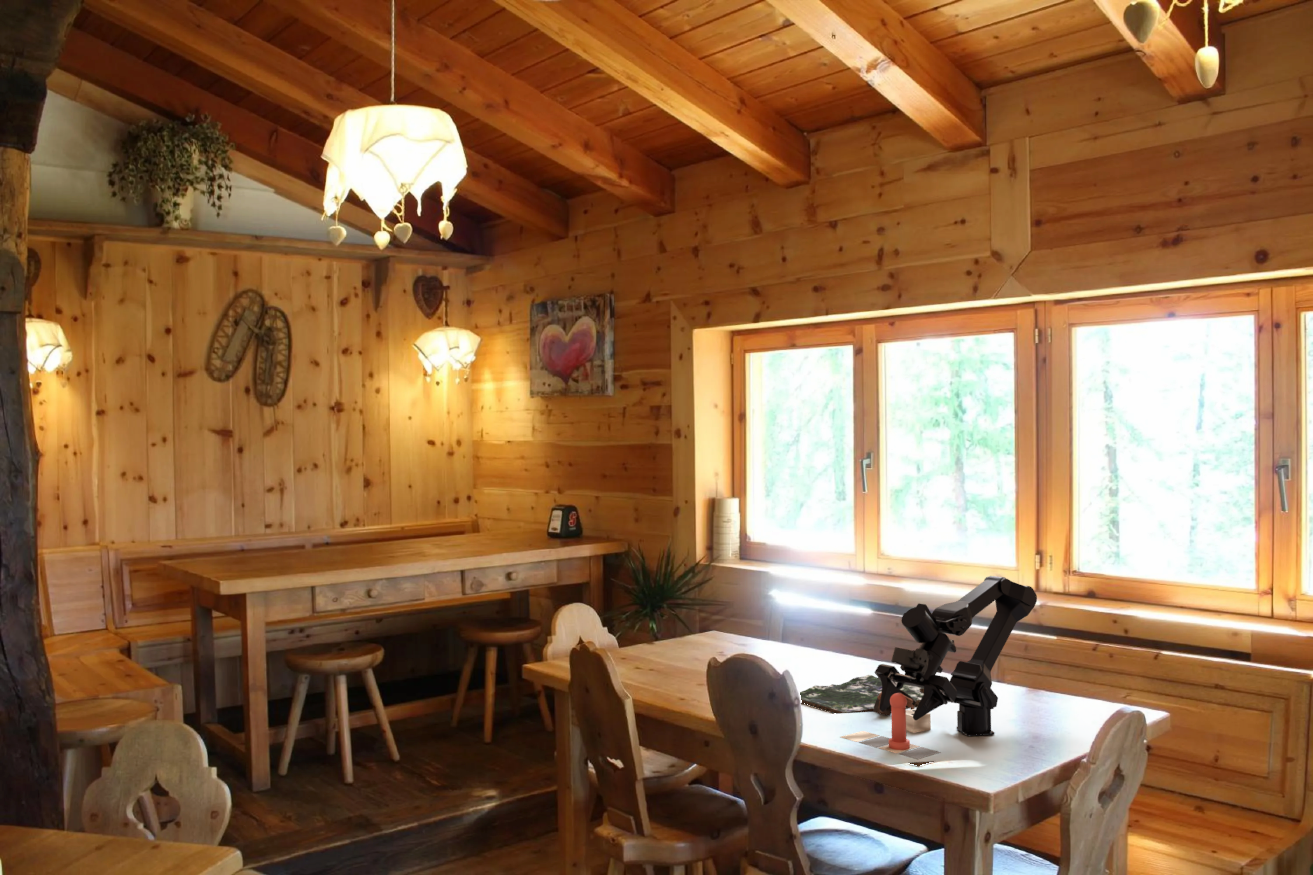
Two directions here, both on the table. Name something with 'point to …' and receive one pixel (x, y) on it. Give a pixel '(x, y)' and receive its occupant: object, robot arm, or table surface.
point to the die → (917, 722)
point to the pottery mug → (887, 711)
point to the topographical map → (852, 695)
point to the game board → (882, 741)
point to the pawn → (898, 722)
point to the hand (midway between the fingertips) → (897, 714)
